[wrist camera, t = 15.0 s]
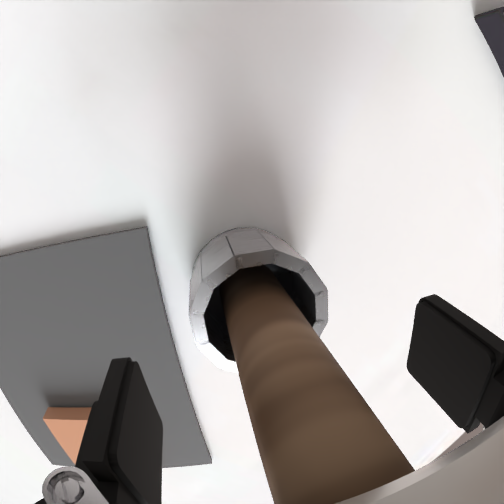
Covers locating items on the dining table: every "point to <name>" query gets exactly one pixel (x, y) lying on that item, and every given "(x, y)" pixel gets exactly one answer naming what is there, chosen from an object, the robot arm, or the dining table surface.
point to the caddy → (242, 256)
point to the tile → (68, 427)
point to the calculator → (493, 32)
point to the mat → (90, 337)
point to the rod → (302, 400)
